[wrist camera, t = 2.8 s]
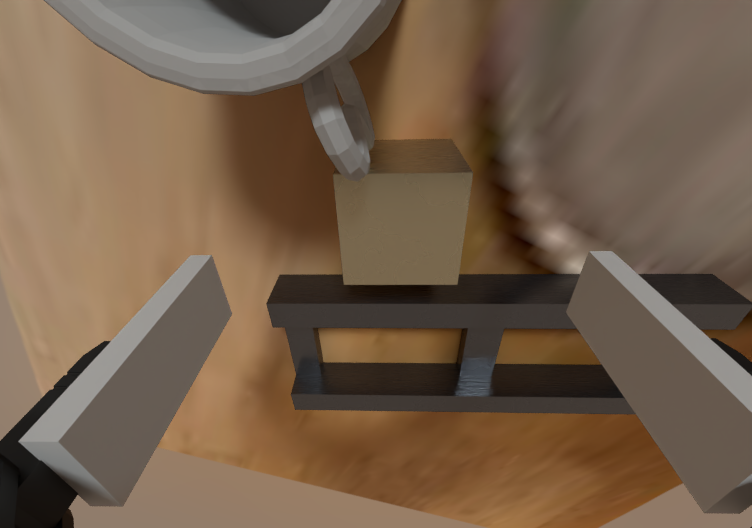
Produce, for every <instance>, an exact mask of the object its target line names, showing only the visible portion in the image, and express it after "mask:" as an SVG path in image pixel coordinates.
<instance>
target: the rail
mask: <svg viewBox="0 0 752 528" xmlns="http://www.w3.org/2000/svg"><path fill="white" fill-rule="evenodd" d="M638 275H639V276H640V277H641V278H642V279H644V280H645V281H646V282H647V283H648V284H649V285H650V286H651V287H653V288H654V289H655V290H656V291H657V292H658V293H659V294H660V295H662V296H663V297H664V298H665V299H666V300H667V301H668V302H669V303H671V304H672V305H673V306H674V307H675V308H676V309H677V310H678V311H679V312H681V313H682V314H683V315H684V316H685V317H686V318H687V319H688V320H690V321H691V322H692V323H693V324H694V325H695V326H696V327H697V328H699V329H735V328H736V327H737V326H738V325H739V323H740V322H741V321H742V320H743V318H744V317H745V316H746V315H747V313H748V312H749V311H750V310H751V308H752V302H750V301H749V300H748V299H746V298H745V297H744V296H742V295H741V294H739V293H738V292H737V291H735V290H734V289H732V288H731V287H730V286H728V285H727V284H725V283H724V282H723V281H721V280H720V279H718V278H717V277H716V276H714V275H713V274H638ZM579 276H580V274H475V275H459V277H458V284H457V285H344V282H343V275H279V277H278V280H277V282H276V284H275V286H274V288H273V290H272V293H271V295H270V297H269V299H268V301H267V303H266V304H267V308H268V311H269V315H270V319H271V323H272V326H273V327H285V330H286V334H287V338H288V342H289V346H290V350H291V354H292V359H293V363H294V367H295V371H296V377H295V381H294V385H293V388H292V392H291V396H292V400H293V404H294V407H295V410H360V411H432V412H504V413H576V414H636V413H635V412H634V411H633V409H632V408H631V406H630V405H629V403H628V402H627V400H626V399H625V398H624V396H623V395H622V393H621V392H620V390H619V389H618V387H617V386H616V384H615V383H614V382H613V380H612V379H611V377H610V376H609V374H608V373H607V371H606V370H605V368H604V367H603V366H602V365H544V364H495V361H496V357H497V354H498V350H499V346H500V342H501V338H502V335H503V331H504V328H515V329H577V328H576V326H575V325H574V323H573V322H572V321H571V319H570V318H569V316H568V315H567V313H566V311H567V308H568V305H569V303H570V300H571V297H572V295H573V292H574V290H575V287H576V284H577V282H578V279H579ZM318 328H463V330H462V336H461V342H460V348H459V354H458V359H457V364H426V363H323V357H322V351H321V345H320V339H319V333H318Z"/></svg>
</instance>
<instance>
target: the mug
mask: <svg viewBox="0 0 752 528" xmlns="http://www.w3.org/2000/svg"><path fill="white" fill-rule="evenodd" d="M44 1H45V2H46V3H47V4H49V5H50V6H51V7H52V8H53V9H54V10H56V11H57V12H58V13H59V14H60V15H61V16H63V17H64V18H65V19H66V20H67V21H68V22H70V23H71V24H72V25H73V26H74V27H75V28H77V29H78V30H79V31H80V32H81V33H82V34H84V35H85V36H86V37H87V38H88V39H89V40H90V41H92V42H93V43H94V44H95V45H97V46H98V47H100V48H102V49H103V50H105V51H107V52H109V53H110V54H112V55H114V56H115V57H117V58H119V59H120V60H122V61H124V62H126V63H127V64H129V65H131V66H132V67H134V68H136V69H138V70H139V71H141V72H143V73H144V74H146V75H148V76H149V77H152V78H155V79H158V80H161V81H164V82H168V83H171V84H174V85H177V86H180V87H184V88H187V89H190V90H193V91H196V92H199V93H203V94H225V95H251V96H254V95H258V94H262V93H266V92H270V91H273V90H277V89H281V88H284V87H288V86H292V85H296V84H299V83H302V86H303V91H304V95H305V100H306V105H307V108H308V111H309V114H310V117H311V120H312V123H313V126H314V129H315V132H316V134H317V136H318V137H319V139H320V141H321V143H322V145H323V147H324V149H325V151H326V153H327V155H328V156H329V158H330V159H331V161H332V162H333V164H334V165H335V167H336V168H337V170H338V171H339V172H340V173H341V174H342V175H343V176H344V177H345V178H346V179H347V180H352V181H357V182H358V181H359V180H361V179H362V178H363V177H364V176H366V175H367V174H368V172H369V168H370V156H369V150H370V149H371V148H373V146H374V140H375V135H374V130H373V126H372V122H371V119H370V115H369V111H368V108H367V105H366V102H365V99H364V96H363V93H362V90H361V88H360V85H359V82H358V80H357V78H356V75H355V73H354V71H353V69H352V67H351V65H350V63H349V61H351V60H353V59H354V58H356V57H357V56H359V55H360V54H362V53H363V52H365V51H366V50H368V49H369V47H370V46H371V45H372V44H373V43H374V42H375V41H376V40H377V38H378V37H379V36H380V35H381V34H382V33H383V32H384V30H385V29H386V28H387V27H388V25H389V23H390V21H391V19H392V18H393V16H394V14H395V12H396V10H397V8H398V6H399V4H400V2H401V0H44ZM334 83H335V84H334ZM335 85H336V87H337V88H338V90H339V93H340V95H341V97H342V100H343V102H344V104H343V105H342V106H340V103H339V100H338V97H337V93H336V88H335Z"/></svg>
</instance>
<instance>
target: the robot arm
mask: <svg viewBox="0 0 752 528" xmlns="http://www.w3.org/2000/svg"><path fill="white" fill-rule="evenodd" d="M566 313H567V315H568V316H569V318H570V319H571V321H572V322H573V323H574V325H575V326H576V328H577V329H578V331H579V332H580V334H581V335H582V337H583V338H584V339H585V341H586V342H587V344H588V345H589V347H590V348H591V350H592V351H593V352H594V354H595V355H596V357H597V358H598V360H599V361H600V363H601V364H602V366H603V367H604V368H605V370H606V371H607V373H608V374H609V376H610V377H611V379H612V380H613V382H614V383H615V384H616V386H617V387H618V389H619V390H620V392H621V393H622V395H623V396H624V398H625V399H626V400H627V402H628V403H629V405H630V406H631V408H632V409H633V411H634V412H635V413H636V415H637V416H638V418H639V419H640V421H641V422H642V424H643V425H644V427H645V428H646V429H647V431H648V432H649V434H650V435H651V437H652V438H653V440H654V441H655V443H656V444H657V445H658V447H659V448H660V450H661V451H662V453H663V454H664V456H665V457H666V459H667V460H668V461H669V463H670V464H671V466H672V467H673V469H674V470H675V472H676V473H677V474H678V476H679V477H680V479H681V480H682V482H683V483H684V485H685V486H686V488H687V489H688V490H689V492H690V493H691V495H692V496H693V498H694V499H695V501H696V502H697V504H698V505H699V506H700V508H701V509H702V511H703V512H704V513H741V512H743V511H744V510H745V509H747V508H748V507H749V506H750V505H752V362H750V361H749V360H748V359H747V358H746V357H745V356H743V355H742V354H741V353H739V352H738V351H736V350H734V349H733V348H731V347H729V346H728V345H726V344H724V343H722V342H721V341H719V340H717V339H716V338H709V337H708V336H706V335H705V334H704V333H703V332H702V331H701V330H700V329H699V328H697V327H696V326H695V325H694V324H693V323H692V322H691V321H690V320H688V319H687V318H686V317H685V316H684V315H683V314H682V313H681V312H679V311H678V310H677V309H676V308H675V307H674V306H673V305H672V304H671V303H669V302H668V301H667V300H666V299H665V298H664V297H663V296H662V295H660V294H659V293H658V292H657V291H656V290H655V289H654V288H653V287H651V286H650V285H649V284H648V283H647V282H646V281H645V280H644V279H642V278H641V277H640V276H639V275H638V274H637V273H636V272H635V271H634V270H632V269H631V268H630V267H629V266H628V265H627V264H626V263H625V262H623V261H622V260H621V259H620V258H619V257H618V256H617V255H616V254H614V253H613V252H612V251H589V253H588V256H587V258H586V261H585V263H584V266H583V269H582V271H581V274H580V276H579V279H578V282H577V284H576V287H575V290H574V292H573V295H572V297H571V300H570V303H569V305H568V308H567V311H566ZM231 315H232V312H231V309H230V307H229V304H228V301H227V298H226V295H225V292H224V289H223V286H222V283H221V280H220V277H219V275H218V272H217V269H216V266H215V263H214V260H213V257H212V255H190V257H189V258H188V259H187V260H186V261H185V262H184V263H183V264H182V265H181V266H180V267H179V268H178V269H177V271H176V272H175V273H174V274H173V275H172V276H171V277H170V278H169V279H168V280H167V281H166V282H165V284H164V285H163V286H162V287H161V288H160V289H159V290H158V291H157V292H156V293H155V294H154V295H153V296H152V298H151V299H150V300H149V301H148V302H147V303H146V304H145V305H144V306H143V307H142V308H141V309H140V311H139V312H138V313H137V314H136V315H135V316H134V317H133V318H132V319H131V320H130V321H129V322H128V323H127V325H126V326H125V327H124V328H123V329H122V330H121V331H120V332H119V333H118V334H117V335H116V336H115V338H114V339H113V340H112V341H104V342H102V343H101V344H100V345H98V346H97V347H95V348H94V349H92V350H91V351H89V352H88V353H86V354H85V355H83V356H82V357H81V358H80V359H79V360H78V362H77V363H76V364H75V365H74V366H73V367H72V368H71V369H70V370H69V371H68V372H67V375H64V376H63V377H62V378H61V379H60V380H59V381H58V382H57V383H56V384H55V385H54V389H53V390H49V391H48V392H47V393H46V394H45V395H44V396H43V397H42V399H41V400H40V401H39V402H38V403H37V404H36V405H35V406H34V407H33V408H32V409H31V410H30V411H29V412H28V413H27V414H26V415H25V416H24V417H23V418H22V419H21V420H20V421H19V422H18V423H17V424H16V425H15V426H14V427H13V428H12V429H11V430H10V431H9V433H7V434H6V436H5V437H4V438H3V439H2V440H1V441H0V528H74V521H73V516H72V513H71V510H69V509H68V508H69V506H70V505H71V503H72V502H73V501H74V499H75V498H76V496H77V495H79V496H80V497H81V498H82V499H83V500H85V501H86V502H87V503H88V504H89V505H90V506H124V504H125V502H126V500H127V498H128V497H129V495H130V493H131V491H132V490H133V488H134V486H135V484H136V483H137V481H138V479H139V477H140V476H141V474H142V472H143V470H144V468H145V467H146V465H147V463H148V461H149V460H150V458H151V456H152V454H153V453H154V451H155V449H156V447H157V446H158V444H159V442H160V440H161V438H162V437H163V435H164V433H165V431H166V430H167V428H168V426H169V424H170V423H171V421H172V419H173V417H174V416H175V414H176V412H177V410H178V409H179V407H180V405H181V403H182V401H183V400H184V398H185V396H186V394H187V393H188V391H189V389H190V387H191V386H192V384H193V382H194V380H195V379H196V377H197V375H198V373H199V371H200V370H201V368H202V366H203V364H204V363H205V361H206V359H207V357H208V356H209V354H210V352H211V350H212V349H213V347H214V345H215V343H216V341H217V340H218V338H219V336H220V334H221V333H222V331H223V329H224V327H225V326H226V324H227V322H228V320H229V319H230V317H231ZM751 528H752V527H751Z"/></svg>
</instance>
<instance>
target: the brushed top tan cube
mask: <svg viewBox="0 0 752 528" xmlns="http://www.w3.org/2000/svg"><path fill="white" fill-rule="evenodd" d="M369 156H370V168H369V172H368V174H367V175H366V176H364V177H363V178H362V179H361V180H359V181H358V182H357V181H352V180H347V179H346V178H345V177H344V176H343V175H342V174H341V173H340V172H339V171H338V170H337V168H335V171H334V173H333V181H334V191H335V201H336V211H337V221H338V231H339V241H340V251H341V262H342V272H343V282H344V285H457V284H458V277H459V270H460V262H461V255H462V248H463V241H464V234H465V227H466V219H467V212H468V205H469V198H470V191H471V184H472V177H473V172H472V170H471V168H470V167H469V165H468V164H467V162H466V161H465V159H464V158H463V156H462V154H461V153H460V151H459V150H458V148H457V147H456V145H455V144H454V142H453V141H452V139H405V140H374V146H373V148H371V149H370V150H369Z"/></svg>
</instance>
